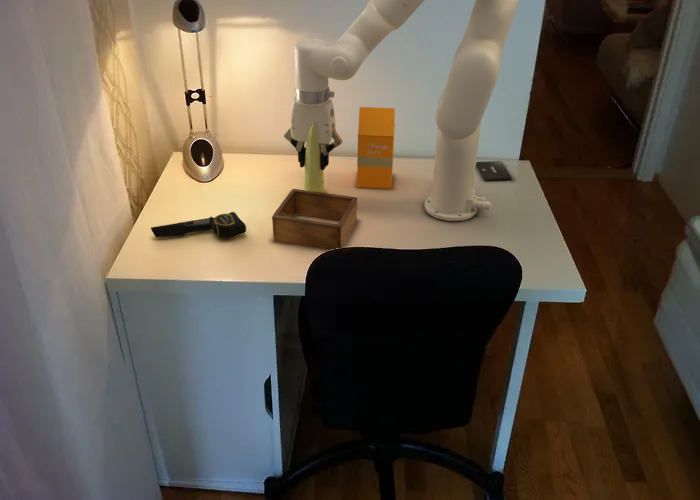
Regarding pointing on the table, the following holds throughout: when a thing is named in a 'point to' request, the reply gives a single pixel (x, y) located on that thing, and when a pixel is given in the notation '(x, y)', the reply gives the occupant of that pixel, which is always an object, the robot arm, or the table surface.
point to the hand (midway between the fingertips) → (313, 165)
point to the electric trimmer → (183, 228)
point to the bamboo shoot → (313, 164)
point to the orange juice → (375, 147)
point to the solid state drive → (493, 170)
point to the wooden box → (315, 231)
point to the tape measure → (228, 225)
